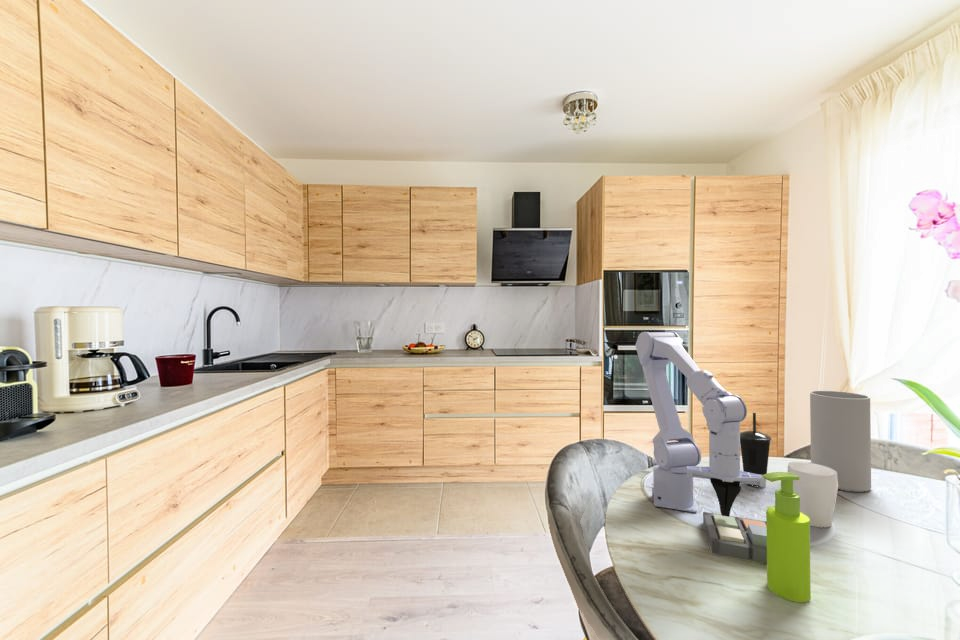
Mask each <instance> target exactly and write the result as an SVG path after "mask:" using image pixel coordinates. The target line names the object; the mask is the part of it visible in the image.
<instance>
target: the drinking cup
mask: <svg viewBox="0 0 960 640" xmlns="http://www.w3.org/2000/svg"><path fill="white" fill-rule="evenodd" d="M771 441H772V436H770V435H767V434H765V433H764V432H761V431H757V414H756V412H752V430H745V431H742V432H741V431H740V455H741V462H742V471H744V472H749V473H754V474H759V475H764V474H767V473H768V465H769V456H770V455H769V453H770V444H771ZM750 485H751V484H750ZM753 486H758V487H760V486H759V485H753Z"/></svg>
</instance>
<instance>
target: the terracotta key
mask: <svg viewBox="0 0 960 640" xmlns="http://www.w3.org/2000/svg"><path fill="white" fill-rule="evenodd" d="M741 518H742V526H743V528H744V530H745V531H748V524H751V525H757V526H763V527H767V526H766V524H765V522H762V521H763V520H760V521H756V520H757V519H753V520H749V519H750V518H747V519H743V518H744V517H741Z"/></svg>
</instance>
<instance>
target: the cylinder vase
mask: <svg viewBox="0 0 960 640" xmlns="http://www.w3.org/2000/svg"><path fill="white" fill-rule="evenodd" d="M809 399H810V400H809V405H810V406H809V413H810V414H809V415H810V417H809V419H810V421H809V422H810V427H809V428H810V463H814V464H818V465H822V466H826V467H829V468H831V469H833V470H835V471H836V472H837V480H838V489H841V490H840V491H843V490H845V491H844V492H850V491H853V492H852V493H865V492H868V491H870V490H871V489H872V442H871V441H872V438H871V435H872V434H871V431H872V430H871V425H872V424H871V397H870V396H869V395H866V394H860V393H855V392H846V391H837V390H836V391H835V390H812V391H809ZM864 491H865V492H864Z"/></svg>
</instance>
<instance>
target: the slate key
mask: <svg viewBox="0 0 960 640" xmlns="http://www.w3.org/2000/svg"><path fill="white" fill-rule="evenodd" d="M748 537H749V539H750V541H751V543H752V545H756V546H761V547H767V527H763V526H757V525H751V524H748Z"/></svg>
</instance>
